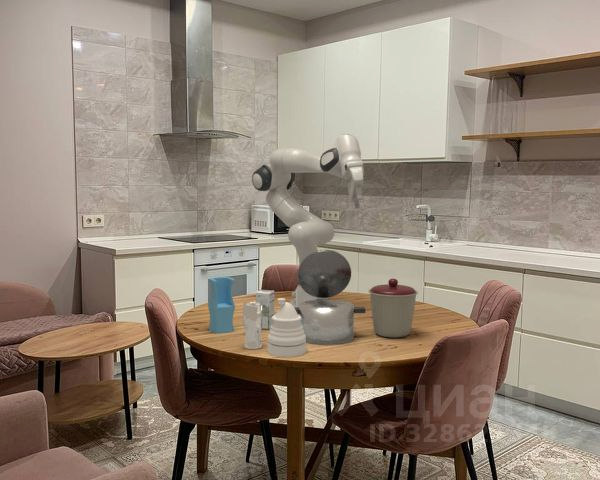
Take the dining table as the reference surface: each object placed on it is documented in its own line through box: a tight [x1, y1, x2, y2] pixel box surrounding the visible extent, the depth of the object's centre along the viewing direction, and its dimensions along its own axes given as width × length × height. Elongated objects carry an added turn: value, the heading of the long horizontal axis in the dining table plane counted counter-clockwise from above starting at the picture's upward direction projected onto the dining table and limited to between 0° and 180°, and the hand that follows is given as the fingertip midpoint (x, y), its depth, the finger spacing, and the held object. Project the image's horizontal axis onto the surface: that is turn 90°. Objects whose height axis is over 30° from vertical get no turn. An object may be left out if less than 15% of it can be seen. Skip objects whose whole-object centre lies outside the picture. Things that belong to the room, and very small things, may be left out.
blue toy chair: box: [207, 276, 236, 334], centre depth 224 cm, size 8×8×20 cm
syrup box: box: [255, 289, 275, 331], centre depth 229 cm, size 6×6×14 cm
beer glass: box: [242, 301, 263, 350], centre depth 202 cm, size 7×7×15 cm
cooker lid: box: [297, 249, 352, 298], centre depth 221 cm, size 20×20×3 cm
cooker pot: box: [294, 297, 366, 346], centre depth 216 cm, size 22×28×12 cm
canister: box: [368, 278, 419, 339], centre depth 219 cm, size 18×18×21 cm
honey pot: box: [267, 297, 307, 358], centre depth 197 cm, size 13×13×18 cm
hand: (358, 203), depth 229 cm, fingers open, 8 cm apart
